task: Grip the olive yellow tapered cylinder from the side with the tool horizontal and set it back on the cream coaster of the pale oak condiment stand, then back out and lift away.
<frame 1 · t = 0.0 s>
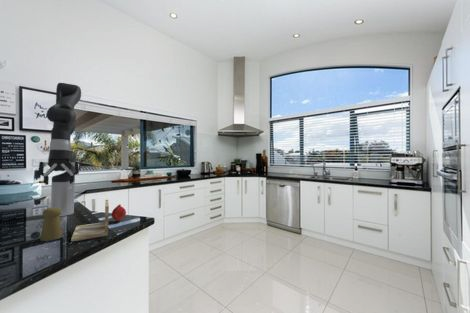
hand: (59, 184, 94), 17 cm above the counter, tool pointing down, fingers open, 8 cm apart
onion: (118, 221, 95), on the counter
condiment stand: (91, 231, 81), on the counter
olive yellow tapered cylinder: (51, 238, 74), on the counter
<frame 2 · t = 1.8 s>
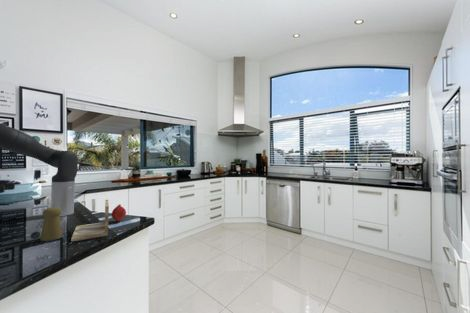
hand: (9, 187, 69), 19 cm above the counter, tool horizontal, fingers open, 8 cm apart
nothing on the counter moved.
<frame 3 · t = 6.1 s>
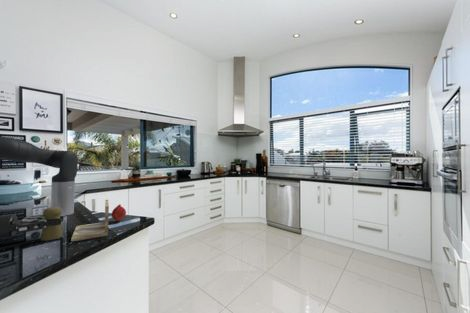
hand: (61, 220, 76), 6 cm above the counter, tool horizontal, fingers closed on olive yellow tapered cylinder, 3 cm apart
olive yellow tapered cylinder: (51, 238, 74), on the counter, touching gripper
everything else where it was.
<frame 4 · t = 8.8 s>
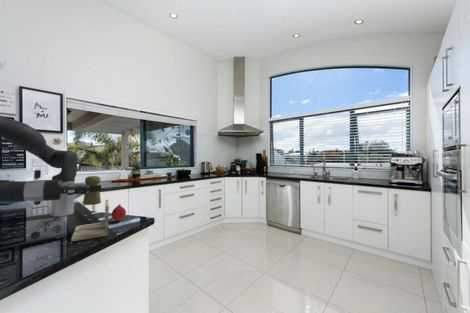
hand: (100, 187, 83), 17 cm above the counter, tool horizontal, fingers closed on olive yellow tapered cylinder, 3 cm apart
olive yellow tapered cylinder: (92, 203, 81), point 11 cm above the counter, touching gripper
everything else where it was.
when the fingers open (8 cm above the counter, at t = 11.2 s): olive yellow tapered cylinder stays where it is, resting on condiment stand.
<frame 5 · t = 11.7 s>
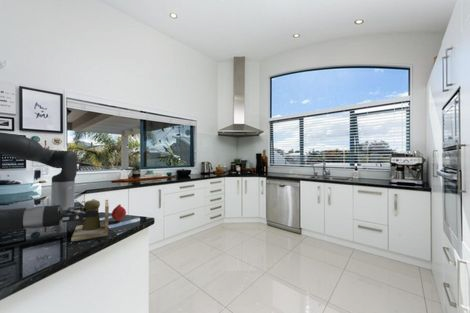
hand: (98, 211, 82), 8 cm above the counter, tool horizontal, fingers open, 7 cm apart
olive yellow tapered cylinder: (91, 228, 81), point 1 cm above the counter, touching condiment stand
everything else where it was.
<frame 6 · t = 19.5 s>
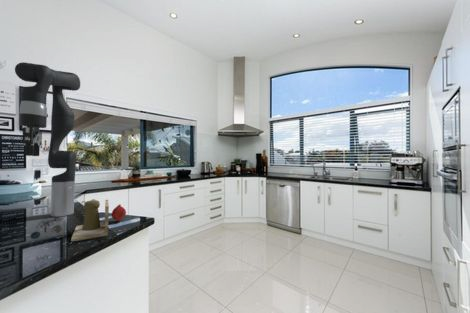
hand: (32, 155, 79), 30 cm above the counter, tool pointing down, fingers open, 8 cm apart
nothing on the counter moved.
at the end: olive yellow tapered cylinder 0.7 cm from the condiment stand (horizontally); olive yellow tapered cylinder tilted 0°; the gripper is holding nothing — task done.
